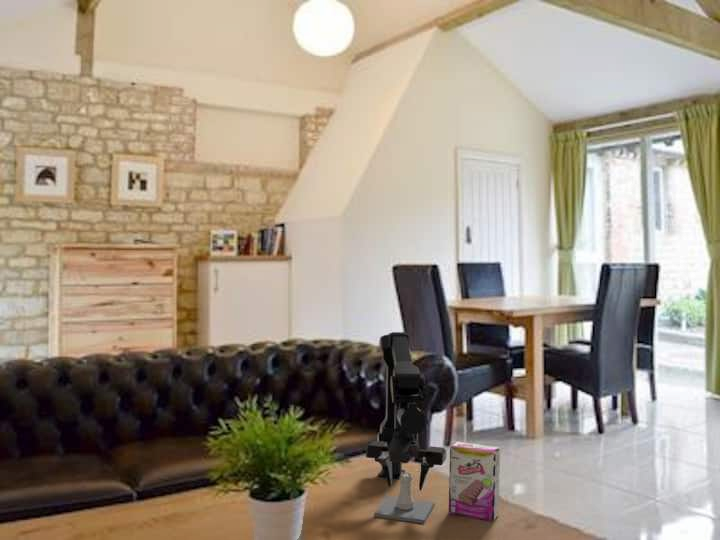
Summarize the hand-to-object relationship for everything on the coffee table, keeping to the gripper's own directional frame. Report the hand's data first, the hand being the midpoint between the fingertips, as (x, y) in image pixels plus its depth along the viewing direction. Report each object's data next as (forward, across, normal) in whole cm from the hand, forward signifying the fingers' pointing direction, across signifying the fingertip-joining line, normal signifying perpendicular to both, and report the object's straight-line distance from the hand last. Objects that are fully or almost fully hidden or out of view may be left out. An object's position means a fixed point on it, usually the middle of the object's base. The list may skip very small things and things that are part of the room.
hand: (405, 488), depth 151 cm
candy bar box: (+6, +16, +3) cm, 17 cm away
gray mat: (+5, 0, 0) cm, 5 cm away
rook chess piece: (+5, 0, 0) cm, 5 cm away
